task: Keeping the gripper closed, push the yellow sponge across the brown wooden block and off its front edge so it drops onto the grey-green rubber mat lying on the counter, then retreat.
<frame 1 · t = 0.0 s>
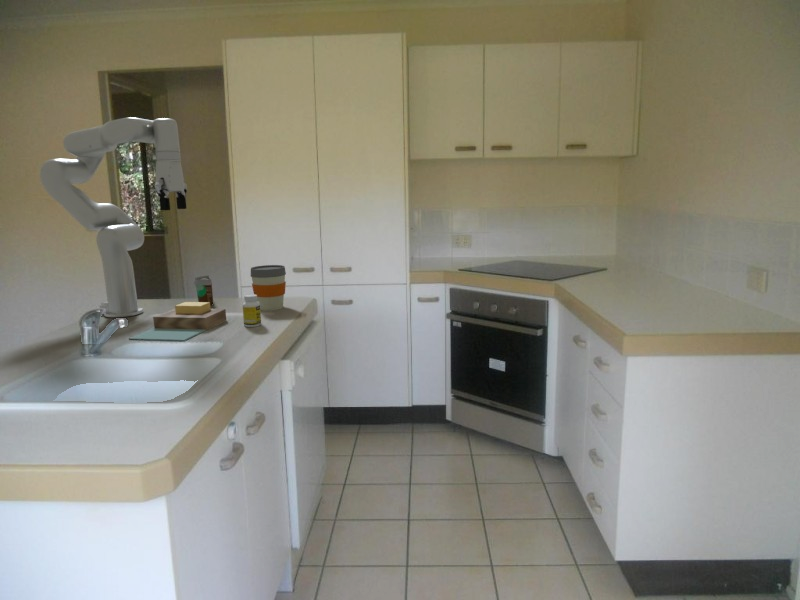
hand: (173, 209, 191), 37 cm above the countertop, tool pointing down, fingers open, 9 cm apart
reusable coffee cup: (270, 308, 207), on the countertop
food container: (204, 303, 218), on the countertop
brown wooden block: (191, 324, 184), on the countertop
mat: (168, 335, 171), on the countertop
supplement bottle: (252, 326, 181), on the countertop
yellow sponge: (193, 311, 185), point 4 cm above the countertop, touching brown wooden block
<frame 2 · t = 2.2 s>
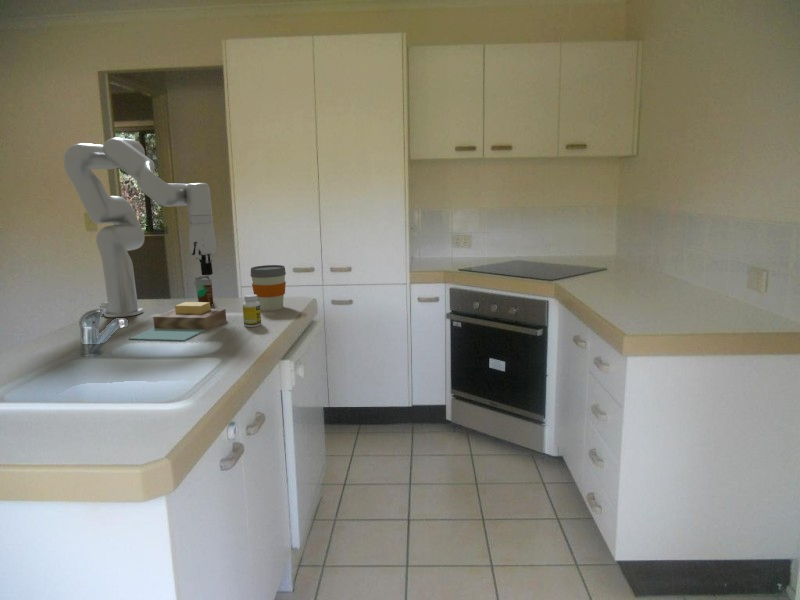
hand: (207, 274, 192), 15 cm above the countertop, tool pointing down, fingers closed
nothing on the countertop moved.
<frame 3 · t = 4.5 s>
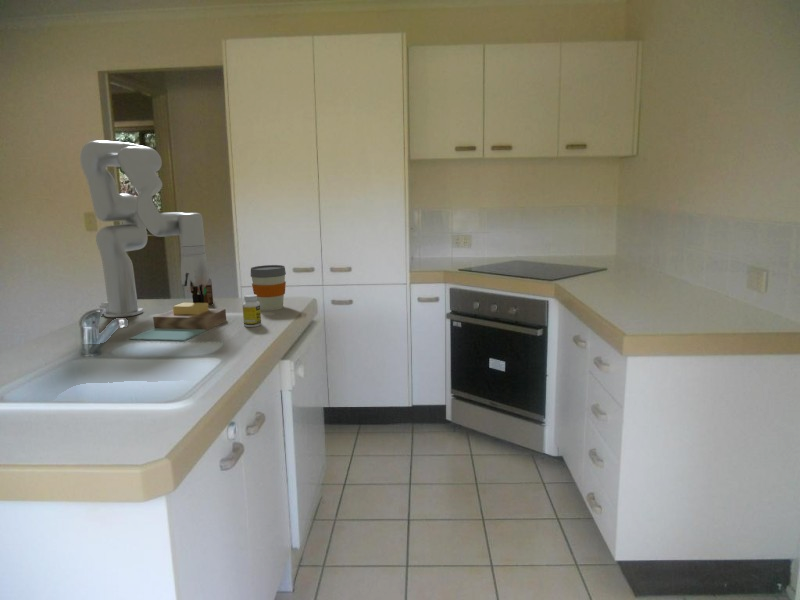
hand: (198, 305, 188), 5 cm above the countertop, tool pointing down, fingers closed
yellow sponge: (191, 312, 184), point 4 cm above the countertop, touching gripper
everything else where it was.
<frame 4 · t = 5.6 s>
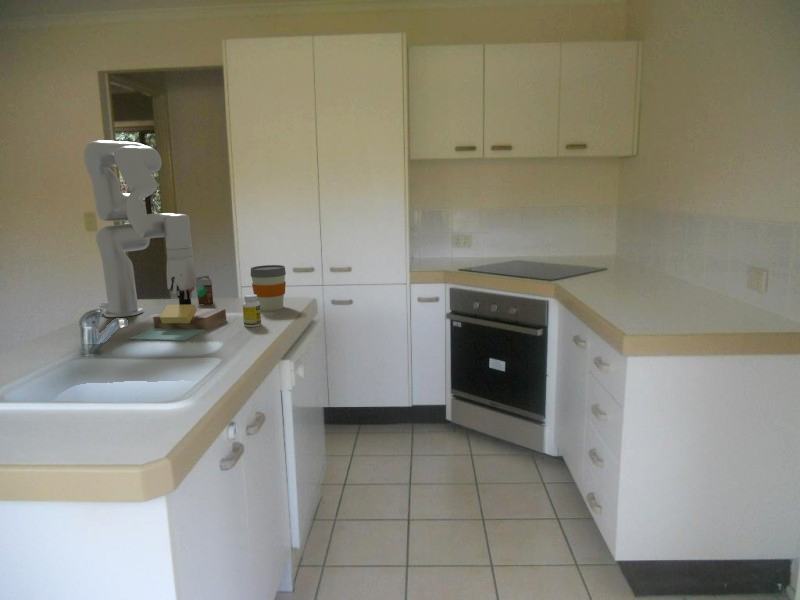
hand: (186, 310, 181), 5 cm above the countertop, tool pointing down, fingers closed
yellow sponge: (179, 316, 177), point 4 cm above the countertop, tilted 28°, touching brown wooden block
everything else where it was.
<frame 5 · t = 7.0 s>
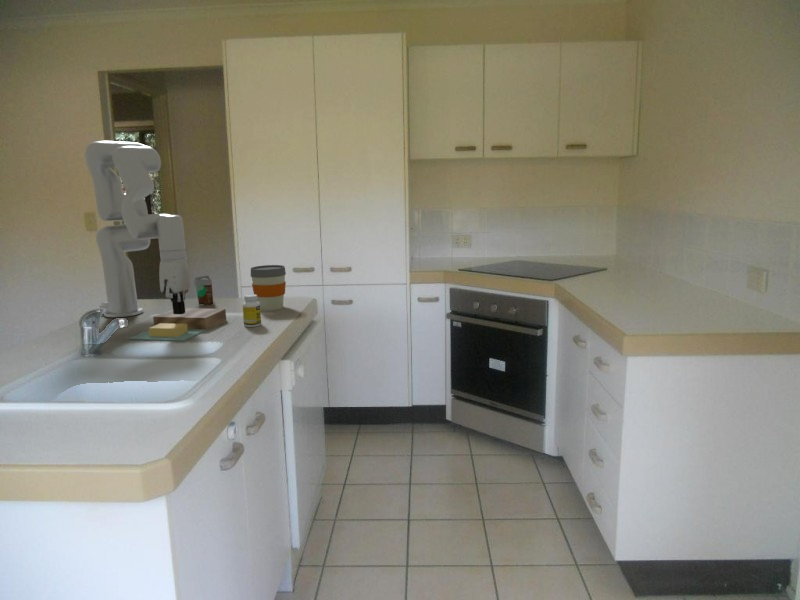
hand: (179, 313, 177), 5 cm above the countertop, tool pointing down, fingers closed
yellow sponge: (168, 325, 171), point 3 cm above the countertop, tilted 180°, touching mat
everything else where it was.
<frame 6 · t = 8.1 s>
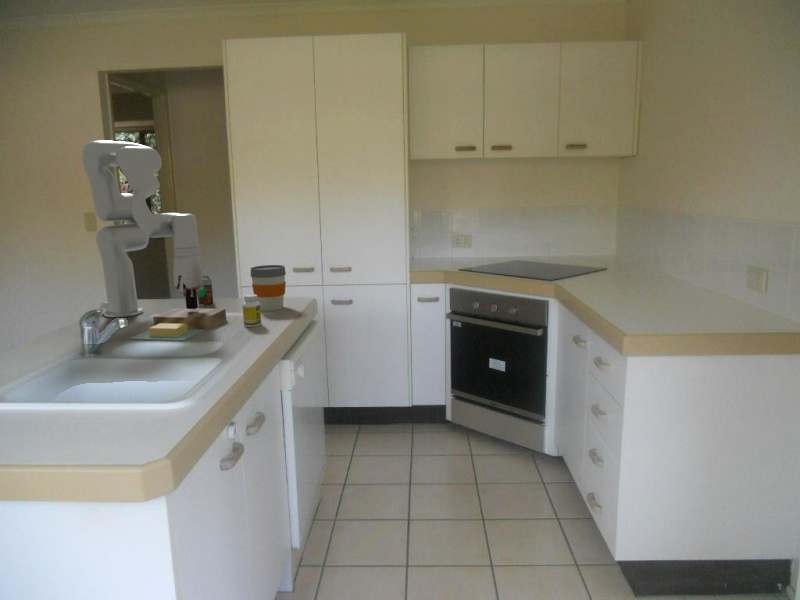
hand: (192, 308, 185), 5 cm above the countertop, tool pointing down, fingers closed
nothing on the countertop moved.
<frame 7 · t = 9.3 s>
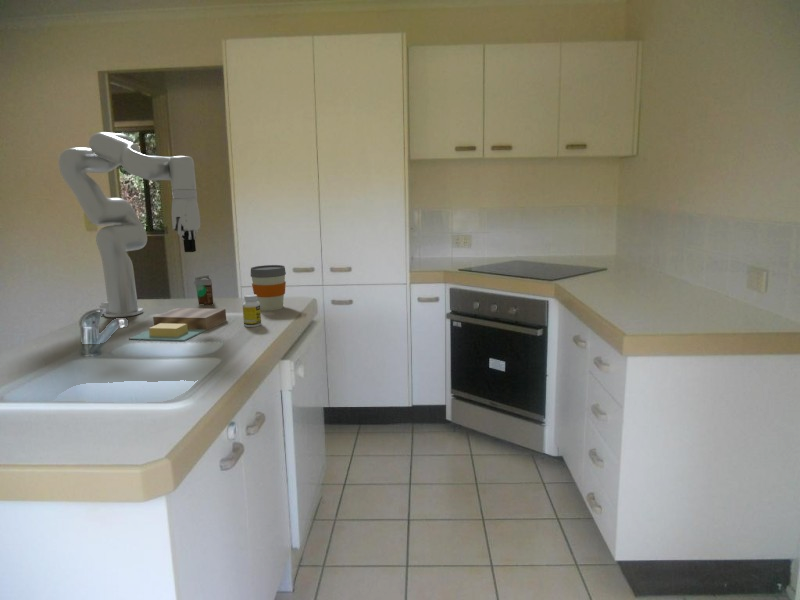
hand: (190, 251, 186), 23 cm above the countertop, tool pointing down, fingers closed
nothing on the countertop moved.
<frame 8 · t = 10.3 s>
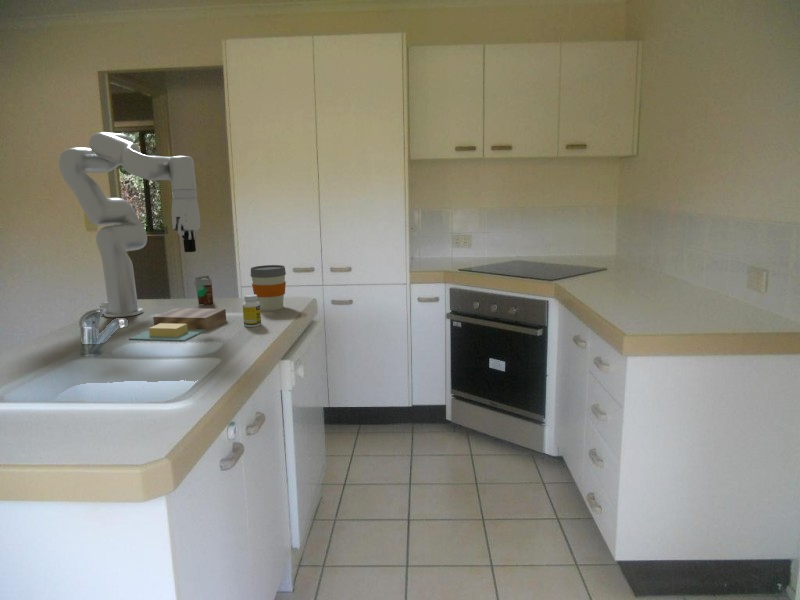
hand: (190, 251, 186), 23 cm above the countertop, tool pointing down, fingers closed
nothing on the countertop moved.
at the end: yellow sponge point 2.9 cm above the countertop; yellow sponge inside the target area (0.3 cm from its centre), point 2.9 cm above the countertop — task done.
